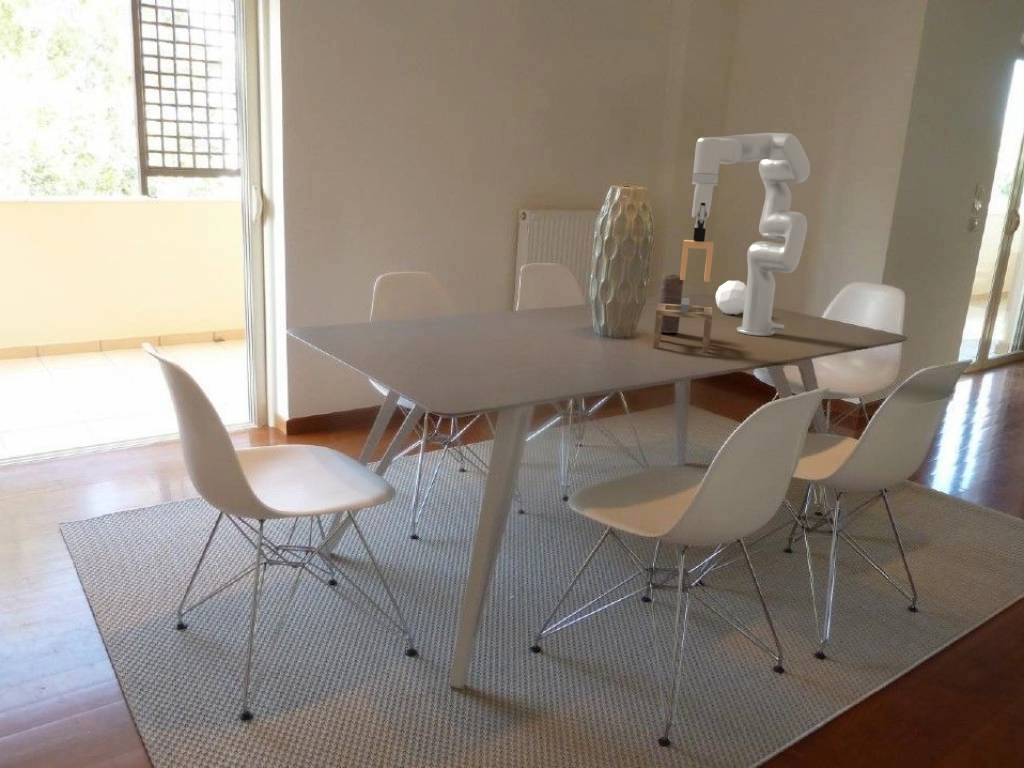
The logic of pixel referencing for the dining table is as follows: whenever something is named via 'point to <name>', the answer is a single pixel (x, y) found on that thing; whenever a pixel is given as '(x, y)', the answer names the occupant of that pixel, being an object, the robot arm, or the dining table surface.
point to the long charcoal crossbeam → (685, 305)
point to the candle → (671, 300)
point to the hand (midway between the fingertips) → (698, 240)
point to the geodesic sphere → (731, 297)
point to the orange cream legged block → (698, 245)
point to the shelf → (675, 311)
